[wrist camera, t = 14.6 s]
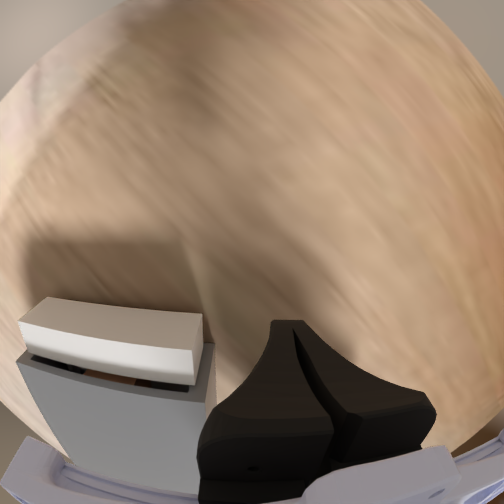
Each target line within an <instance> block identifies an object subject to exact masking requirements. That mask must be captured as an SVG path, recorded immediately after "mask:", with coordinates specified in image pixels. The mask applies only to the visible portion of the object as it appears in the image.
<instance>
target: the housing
mask: <svg viewBox="0 0 504 504" xmlns="http://www.w3.org/2000/svg"><path fill="white" fill-rule="evenodd" d="M16 363H17V365H18V368H19V370H20V372H21V374H22V377H23V379H24V381H25V383H26V385H27V387H28V389H29V391H30V393H31V395H32V397H33V399H34V401H35V403H36V404H37V406H38V408H39V410H40V412H41V413H42V415H43V417H44V419H45V420H46V422H47V424H48V425H49V427H50V429H51V430H52V432H53V433H54V435H55V437H56V438H57V440H58V441H59V443H60V444H61V446H62V447H63V449H64V450H65V452H66V453H67V454H68V456H69V457H70V459H71V460H72V461H73V463H74V464H75V465H76V466H78V467H81V468H84V469H87V470H90V471H93V472H96V473H99V474H102V475H105V476H108V477H112V478H115V479H119V480H123V481H127V482H131V483H135V484H139V485H143V486H148V487H153V488H158V489H164V490H169V491H176V492H182V493H190V494H198V492H199V484H200V474H199V469H198V464H197V459H196V456H197V446H198V440H199V437H200V434H201V431H202V428H203V426H204V424H205V422H206V420H207V418H208V416H209V414H210V413H211V411H212V409H213V408H214V407H215V406H217V399H216V372H215V344H214V343H203V351H202V355H201V360H200V364H199V369H198V373H197V378H196V383H195V385H190V387H189V391H188V393H185V392H176V391H168V390H160V389H153V388H147V387H140V386H134V385H129V384H123V383H118V382H113V381H108V380H103V379H99V378H94V377H90V376H86V375H82V374H78V373H74V372H70V371H69V369H68V366H67V363H63V362H59V361H56V360H52V359H49V358H45V357H42V356H39V355H35V354H32V353H29V352H28V349H27V350H26V351H25V352H24V353H23V354H22V355H21V356H20V357H19V358H18V360H17V361H16Z"/></svg>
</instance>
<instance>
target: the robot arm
mask: <svg viewBox="0 0 504 504" xmlns="http://www.w3.org/2000/svg"><path fill="white" fill-rule="evenodd" d="M436 415H437V414H436V410H435V408H434V407H433V405H432V404H431V402H430V401H429V399H428V397H427V396H426V394H425V393H424V392H421V391H417V390H413V389H409V388H405V387H401V386H398V385H396V384H393V383H390V382H387V381H385V380H383V379H380V378H378V377H376V376H374V375H372V374H370V373H368V372H366V371H364V370H362V369H360V368H359V367H357V366H356V365H354V364H352V363H351V362H349V361H348V360H346V359H345V358H344V357H342V356H341V355H340V354H338V353H337V352H336V351H335V350H333V349H332V348H331V347H330V346H329V345H328V344H326V343H325V342H324V341H323V340H322V339H321V338H320V337H319V336H318V335H317V334H316V333H315V332H314V331H313V330H312V329H311V328H310V327H309V326H308V325H307V324H306V323H305V322H304V321H303V320H273V321H272V322H271V325H270V336H269V340H268V343H267V345H266V348H265V350H264V352H263V354H262V356H261V358H260V360H259V361H258V363H257V365H256V366H255V368H254V369H253V371H252V372H251V373H250V375H249V376H248V377H247V378H246V380H245V381H244V382H243V383H242V384H241V385H240V386H239V387H238V388H237V389H236V390H235V391H234V392H233V393H232V394H231V395H230V396H229V397H227V398H226V399H225V400H223V401H222V402H221V403H219V404H218V405H217V406H215V407H214V408H213V409H212V411H211V413H210V414H209V416H208V418H207V420H206V422H205V424H204V426H203V428H202V431H201V434H200V437H199V440H198V446H197V456H196V459H197V464H198V469H199V474H200V484H199V492H198V494H190V493H182V492H176V491H169V490H164V489H158V488H153V487H148V486H143V485H139V484H135V483H131V482H127V481H123V480H119V479H115V478H112V477H108V476H105V475H102V474H99V473H96V472H93V471H90V470H87V469H84V468H81V467H78V466H76V465H73V464H70V463H68V462H65V460H64V458H63V457H62V455H61V454H60V453H59V452H58V451H57V450H56V449H55V448H53V447H52V446H50V445H48V444H45V443H43V442H41V441H39V440H36V439H35V438H32V437H30V436H27V437H26V438H25V440H24V441H23V443H22V444H21V446H20V448H19V449H18V451H17V453H16V454H15V456H14V458H13V460H12V461H11V463H10V465H9V467H8V468H7V470H6V472H5V474H4V476H3V478H2V479H1V481H0V484H1V486H2V487H3V488H4V489H5V490H6V491H8V492H9V493H10V494H11V495H12V496H13V497H14V498H15V499H17V500H18V501H19V502H20V503H21V504H485V503H487V502H488V501H490V500H491V499H493V498H494V497H496V496H497V495H498V494H500V493H501V492H503V491H504V428H503V429H502V431H501V432H500V434H499V436H498V437H497V438H494V439H493V440H490V441H489V442H487V443H485V444H483V445H481V446H479V447H477V448H475V449H473V450H471V451H468V452H466V453H464V454H462V455H460V456H458V457H455V458H452V456H451V454H450V452H449V450H448V449H447V448H446V447H445V445H438V446H432V447H428V448H424V449H422V447H421V445H420V444H421V443H422V442H423V440H424V439H425V437H426V436H427V434H428V433H429V431H430V430H431V428H432V426H433V424H434V423H435V420H436Z"/></svg>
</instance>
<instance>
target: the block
mask: <svg viewBox="0 0 504 504" xmlns="http://www.w3.org/2000/svg"><path fill="white" fill-rule="evenodd" d="M83 375H86V376H90V377H94V378H99V379H103V380H108V381H113V382H118V383H123V384H129V385H134V386H140V387H147V388H152V386H151V381H150V380H145V379H139V378H133V377H127V376H121V375H116V374H111V373H106V372H101V371H96V370H92V369H87V370H86V371H85V373H84V374H83Z"/></svg>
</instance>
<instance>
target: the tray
mask: <svg viewBox="0 0 504 504" xmlns="http://www.w3.org/2000/svg"><path fill="white" fill-rule="evenodd" d="M18 323H19V326H20V329H21V332H22V335H23V338H24V341H25V344H26V347H27V349H28V352H29V353H32V354H35V355H39V356H42V357H45V358H49V359H52V360H56V361H59V362H63V363H67V366H68V369H69V371H70V372H74V373H78V374H82V375H83V374H84V373H85V371H86V370H87V369H92V370H96V371H101V372H106V373H111V374H116V375H121V376H127V377H133V378H139V379H145V380H150V381H151V386H152V388H153V389H160V390H168V391H176V392H185V393H188V391H189V387H190V385H195V383H196V378H197V373H198V369H199V364H200V360H201V355H202V351H203V323H202V314H198V313H184V312H171V311H159V310H148V309H138V308H128V307H119V306H111V305H102V304H95V303H87V302H80V301H73V300H66V299H59V298H53V297H46V298H45V299H43V300H42V301H41V302H40V303H38V304H37V305H36V306H35V307H34V308H32V309H31V310H30V311H29V312H28V313H26V314H25V315H24V316H23V317H22V318H20V319H19V320H18Z"/></svg>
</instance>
